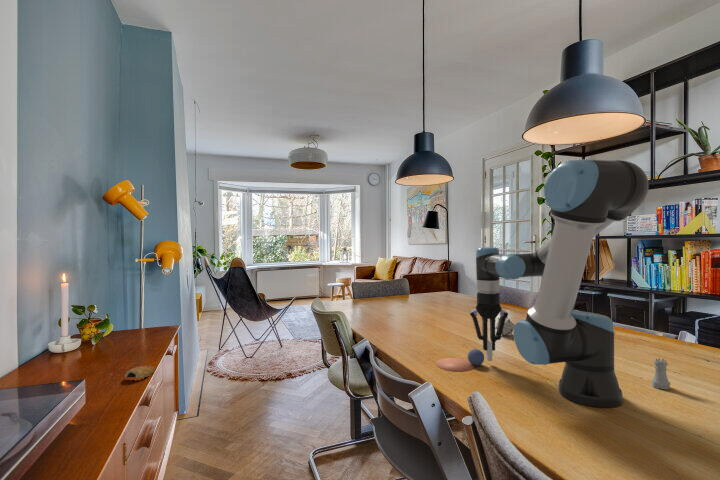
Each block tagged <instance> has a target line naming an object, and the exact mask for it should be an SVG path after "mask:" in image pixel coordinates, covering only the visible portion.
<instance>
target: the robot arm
mask: <svg viewBox="0 0 720 480" xmlns="http://www.w3.org/2000/svg"><path fill="white" fill-rule="evenodd" d="M649 189H650V188H649V179H648V176H647V174H646V173H645V171H644V170H643V169H642V168H641V167H640V166H638V165H637V164H635V163H633V162H630V161H627V160H618V159H617V160H607V159H606V160H604V159H602V160H601V159H589V158H588V159H585V158H584V159H582V158H581V159H573V160H567V161H564V162H561V163H560V164H559V165H558V166H557V167H554V168H553V170H552V171H551V172H550V174H549V175H548V177H547V178H546V181H545V184H544V191H543V194H544V197H545V200H544V201H545V203H546V205H547V206H548V207H549V208H550V209H551V210H550V215H551V216H552V218H553V220H554V227H553V230H552V234H551V237H550V238H549V239H548V240H547V241H546V242H545V243H543V244H542V246H541V247H539V248H538V249H537V250H536V251H535V252H532V253H514V254H513V253H509V254H507V253H506V254H505V253H504V254H502V253H500V250H499V249H500V248H498V247H496V246H495V247H494V246H493V247H492V246H491V247H489V246H487V247H486V246H485V247H478V248H477V249H476V254H475V255H476V257H475V267H476V269H475V270H476V271H475V272H476V291H477V292H476V306H475V308H474V309H473V310H469V312H468V313H469V315H470V317H471V318H472V321H473V326H474V330H475V332H476V337H477V339H479V340H480V341H482V349H483V350H484V351H485V358H486V360H487V361H488V362H493V352H494V351H496V342H497V341H500V340H501V339H502V336H503V335H502V331H503V327H504V323H505V319H506V318H507V317H509V312H507V311H505V310H503V309H502V306H501V297H500V294H501V293H500V278H502V279H505V280H518V279H519V278H526V277H527V278H530V277H533V278H534V277H541V281H540V285H539V291H538V295H537V297H536V302H535V305H533V306H530V307H529V308H528V310H527V313H526V318H525V319H521V320H519V321H517V322H515V323H514V325H515V326H514V329H513V332H512V335H513V341H514V344H515V346H516V349H517V351H518V353H519V354H520V356H521V357H522V358H523V360H525V361H526V362H527V363H529V364H531V365H536V366H538V365H543V366H547V365H551V364H559V363H560V364H561V363H564V367H563V371H562V374H561V378H560V379H559V381H558V392H559V394H560V395H561V396H562V397H564V398H566V399H567V400H569V401H572V402H574V403H577V404H581V405H584V406H587V407H594V408H595V407H596V408H616V407H620V406H621V405H622V404H623V403H622V402H623V401H624V399H623V392H622V389H621V387H620V385H619V381H618V378H617V375H616V372H615V335H616V333H615V330H614V321H613V319H611V318H610V317H609V316H607V315H603V314H600V313H596V312H595V313H594V312H588V311H584V310H583V311H582V310H574V308H575V306H576V300H577V297H578V293H579V290H580V287H581V282H582V278H583V277H584V272H585V269H586V265H587V261H588V257H589V254H590V250H591V247H592V244H593V239H594V238H595V237H596V236H597V235H598V234H600V233H601V232H602V231H604V230H605V229H606V228H608V227H609V226H610V225H611V224H612V223H614V222H621V221H623V220H625V219H626V218H627V217H629V216H630V215H632V213H634V212H635V211H636V210H637V209H638V208H639V207H640V206H641V205H642V203H644V200H645V198H646V197H647V195H648V191H649ZM478 314H479V315H480V317H481V321H482V324H481V325H482V331H481V327H480V325H479V321H478V318H477V316H478ZM497 316H499V319H498V321H499V323H498V322H497V323H498V327H497V329H495V328H496V318H497ZM488 320H489V321H488ZM488 322H489V331H488ZM488 332H489V334H488ZM488 335H489V337H490V338H488Z"/></svg>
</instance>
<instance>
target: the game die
mask: <svg viewBox="0 0 720 480" xmlns="http://www.w3.org/2000/svg"><path fill="white" fill-rule="evenodd" d="M497 319H498V321H497V323H496V325H495V330H497V327H498V323H499V319H500V317H498V318H497ZM514 326H515V323H513V322H512V321H511V319H510V318H509V316H507V318H506V319H505V323H504V327H503V331H502V335H501V336H502V337H504V336H507V335H511V337H514V335H513V331H514Z"/></svg>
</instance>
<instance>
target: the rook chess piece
mask: <svg viewBox="0 0 720 480" xmlns="http://www.w3.org/2000/svg"><path fill="white" fill-rule="evenodd" d="M653 363H654V365H655V366H654V369H655V371H654V376H653V378H652V379H651V386H652V387H653V386H654V387H653V388H655V387H656V388H655V389H657V388H661V389H660V390H662V389H669V390H671V382H670V381H669V379H668V375H667V370H668V369H667V366H668V365H669V364H668V363H667V359H663V358H659V357H658V358H655V359H654V361H653Z"/></svg>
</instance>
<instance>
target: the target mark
mask: <svg viewBox="0 0 720 480" xmlns="http://www.w3.org/2000/svg"><path fill="white" fill-rule="evenodd" d="M436 366H437V367H438V368H439V369H442V370H446V371H451V372H467V371H471V370H473V369H474V368H475V367H476V366H475V365H473V364H471V363H470V362H469V360H468V359H466V358H465V359H464V358H458V357H445V358H441V359H438V360H437V361H436Z"/></svg>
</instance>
